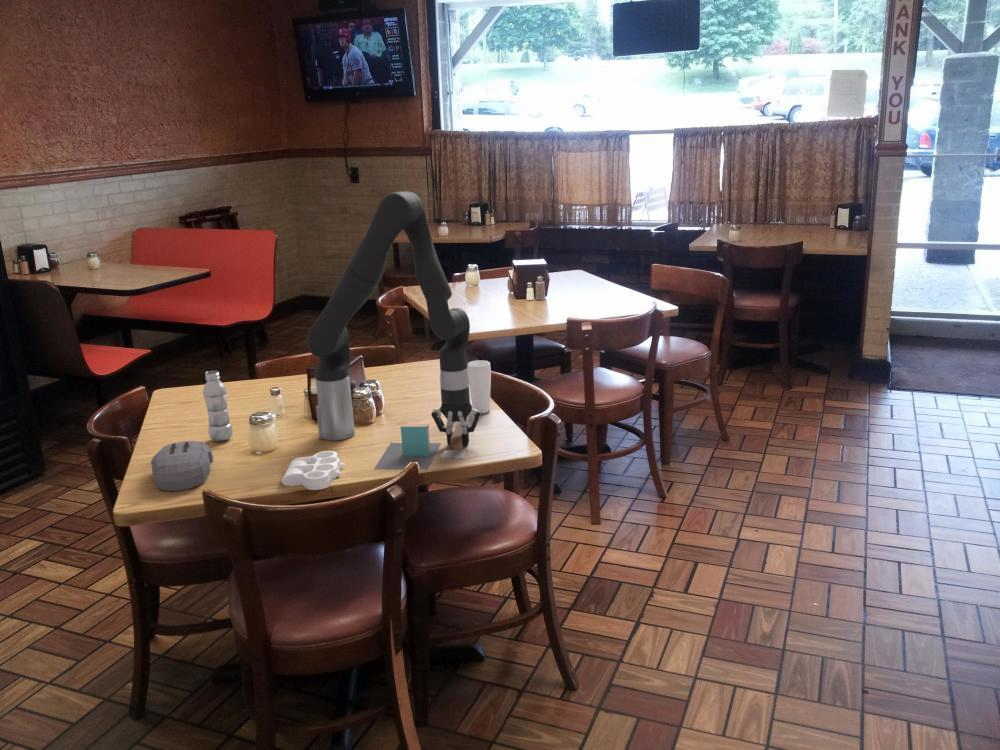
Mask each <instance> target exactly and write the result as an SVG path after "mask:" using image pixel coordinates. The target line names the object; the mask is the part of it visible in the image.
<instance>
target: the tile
mask: <svg viewBox="0 0 1000 750" xmlns="http://www.w3.org/2000/svg"><path fill="white" fill-rule="evenodd" d="M429 427H430V426H429V424H428V423H427V424H426V423H425V424H424V423H423V424H422V423H420V424H419V423H417V424H416V423H412V424H411V423H410V424H409V423H408V424H407V423H403V424H401V426H400V437H401V443H402V450H403V456H429V455H430V453H431V451H430V443H431V440H430V438H431V437H430V428H429Z"/></svg>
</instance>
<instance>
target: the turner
mask: <svg viewBox="0 0 1000 750" xmlns="http://www.w3.org/2000/svg"><path fill="white" fill-rule="evenodd" d="M452 432H453V434H452V436H451V438H450V445H449V447H450V449H443V452H442V454H441V456H440V460H464V459H465V457H466V455H467V454H468V453H467V452H468V450H467V449H463V448H464V447H463V430H462V427H461V424H460V423H457V424H456V427H455V429H454V430H453V431H452Z"/></svg>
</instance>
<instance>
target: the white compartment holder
mask: <svg viewBox="0 0 1000 750" xmlns="http://www.w3.org/2000/svg"><path fill="white" fill-rule="evenodd" d="M345 466H347V464H346V463H344V462H341V461H340V458H339V455H338V452H336V451H334V450H333V451H332V450H324V451H319V452H317V453H314V454H313V455H311V456H302V457H301V456H300V457H296V458H294V459H293V460H292V461H290V464H289V466H288V468H287V469H286V470H285V473H284V475H283V477H281V484H282V485H284V486H286V487H291V486H292V487H295V486H304V487H305V489H307V490H310V491H318V490H324V489H326V488H329V487H330V482H331V481H333V480H334V479H336V478H338V477H340V476H342V475H343V473H342V472H341V470H342V468H344V467H345Z"/></svg>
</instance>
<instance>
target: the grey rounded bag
mask: <svg viewBox="0 0 1000 750" xmlns="http://www.w3.org/2000/svg"><path fill="white" fill-rule="evenodd" d="M150 462H151V464H150V465H151V473H152V474H151V475H152V478H153V481H154V483H155V485H156V486H157V488H158V489H159V490H161V491H162V490H163V491H167V492H170V491H171V492H172V491H184V490H188V489H192V488H194V487H196V486H200V485H202V484H203V483H204V482H205V481H206V479H207V477H208V476H209V474H210V471H211V468H212V467H211V465H212V464H213V463H214V455H213V451H212V448H211V447H210V446H208V445H207V444H205V443H204V442H203V441H200V440H199V441H198V440H188V441H187V440H185V441H179V442H174V443H170V444H167V445H164V446H163V447H162V448H161V449H160V450H159V451H158V452H156V453H155V454H154V455H153V456H152V458H151V460H150Z"/></svg>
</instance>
